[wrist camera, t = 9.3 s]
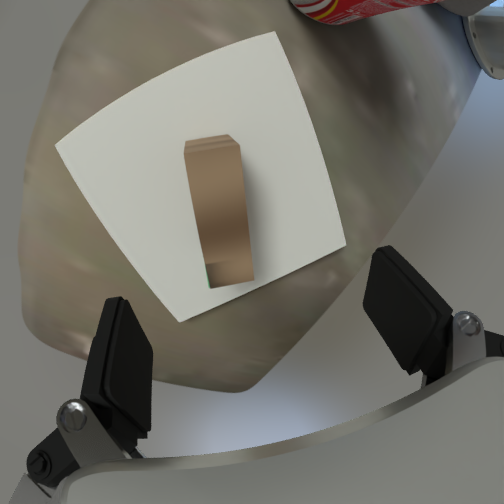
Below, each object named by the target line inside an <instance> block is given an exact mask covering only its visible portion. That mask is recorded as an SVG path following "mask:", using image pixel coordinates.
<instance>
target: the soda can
mask: <svg viewBox="0 0 504 504" xmlns="http://www.w3.org/2000/svg"><path fill="white" fill-rule="evenodd" d="M290 1H291V2H292V4H293V5H294V6H295V7H296V8H297V9H298V10H299V11H301V12H302V13H303V14H305V15H306V16H308V17H310V18H312V19H314V20H316V21H318V22H321V23H325V24H330V25H342V24H347V23H350V22H353V21H357V20H360V19H363V18H367V17H370V16H374V15H378V14H382V13H386V12H390V11H394V10H399V9H403V8H408V7H413V6H419V5H424V4H431V3H436V2H441V1H444V0H290Z"/></svg>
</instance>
